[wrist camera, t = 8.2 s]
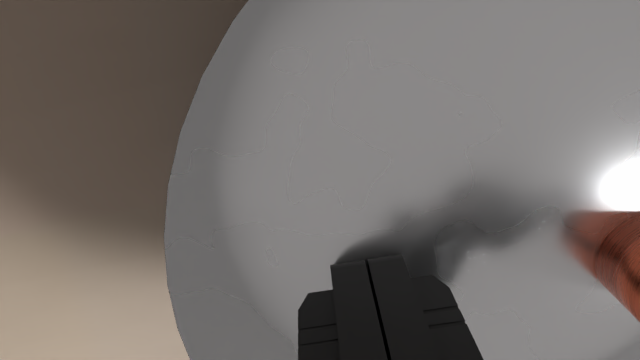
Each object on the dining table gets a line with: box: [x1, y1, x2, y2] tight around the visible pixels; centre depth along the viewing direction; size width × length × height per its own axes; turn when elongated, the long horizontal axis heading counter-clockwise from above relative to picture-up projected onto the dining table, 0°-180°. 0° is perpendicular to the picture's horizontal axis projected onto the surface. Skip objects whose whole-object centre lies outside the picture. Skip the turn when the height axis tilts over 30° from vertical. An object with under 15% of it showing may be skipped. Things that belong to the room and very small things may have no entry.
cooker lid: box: [164, 0, 640, 360], centre depth 10 cm, size 17×17×3 cm
